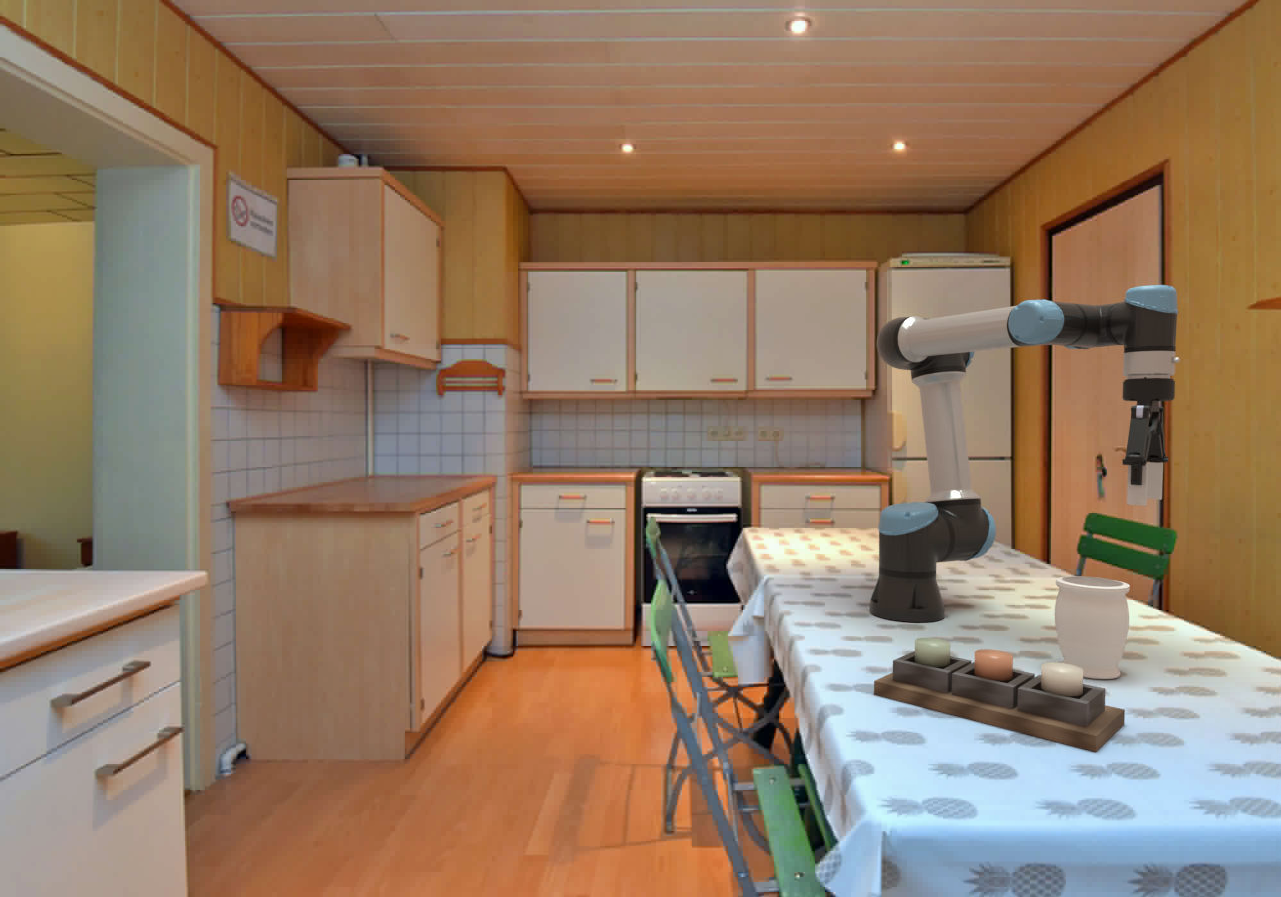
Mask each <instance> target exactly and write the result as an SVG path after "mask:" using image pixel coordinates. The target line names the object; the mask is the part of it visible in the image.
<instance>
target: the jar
mask: <svg viewBox="0 0 1281 897" xmlns="http://www.w3.org/2000/svg"><path fill="white" fill-rule="evenodd" d="M1055 585H1056V586H1057V587H1058V592H1057V596H1056V600H1055V605H1054V624H1055V630H1056V634H1057V636H1056V637H1057V643H1058V648H1059V650H1060V653H1061V655H1062V657H1063V658H1064V659H1063V661H1061V663H1065V664H1070V665H1074V666H1077V667H1080V668H1081V669H1083V678H1085V679H1092V680H1093V679H1094V680H1113V679H1117V678H1119V677H1120V676H1121V671H1120V669H1119V668H1118V664H1120V662H1121V660H1122V658H1123V656H1124V653H1125V648H1126V641H1127V638H1128V636H1129V635H1128V634H1129V628H1130V611H1129V610H1130V609H1129V604H1128V599H1127V597H1126V594H1128V593H1129V592H1130V589H1131V588H1130V587H1131V586H1130V584H1129V583H1127V582H1124V581H1121V580H1115V579H1110V578H1104V577H1095V576H1084V575H1083V576H1080V575H1078V576H1076V575H1075V576H1073V575H1071V576H1070V575H1069V576H1061V577H1056V578H1055Z"/></svg>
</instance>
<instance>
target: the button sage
mask: <svg viewBox="0 0 1281 897" xmlns="http://www.w3.org/2000/svg"><path fill="white" fill-rule="evenodd" d="M914 651H915V662H917V663H919V664H922V665H927V666H932V667H944V666H948V665H950V656H951V642H950V641H948V640H945V639H942V638H936V637H919V638H915V640H914Z"/></svg>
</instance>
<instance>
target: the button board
mask: <svg viewBox="0 0 1281 897" xmlns="http://www.w3.org/2000/svg"><path fill="white" fill-rule="evenodd" d="M974 665H975V661H974V662H972V660H971V659H967V658H966V659H965V658H960V657H957V656H951V655H950V665H948V666H944V667H932V666H927V665H922V664H919V663H917V662H915V650H913V651H911V652H909V653H905V655H904V654H903V655H902V656H900V657H898V658H895V659H893V660H892V672H891V673H890V672H889V674H886V675H884V676H882V677H880V678H877V679H876V680H874V682H873V695H876V696H879V697H883V698H887V699H892V700H895V701H899V702H903V703H906V704H911V705H915V706H918V707H922V708H925V709H929V710H932V711H933V710H934V711H937V712H941V713H944V714H949V715H953V716H957V717H959V718H964V719H968V720H971V721H976V722H978V723H979V722H980V723H983V724H986V725H990V726H994V727H999V728H1002V729H1005V730H1009V731H1013V732H1014V731H1015V732H1018V733H1021V734H1026V735H1030V736H1032V737H1037V738H1041V739H1044V740H1048V741H1053V742H1055V743H1060V744H1064V745H1066V746H1072V747H1075V748H1079V749H1083V750H1087V751H1091V752H1094V753H1098V751H1099V750H1100V749H1101V748H1102V747H1103V746H1104V745H1105V744H1107V742H1108V741H1109V740H1110V739H1111V738H1112V737H1113V736H1114V735H1115V734H1116V733H1117V732H1118V731H1119V730H1120V729H1122V728H1123V726H1124V725H1125V720H1126V719H1125V717H1126V715H1125V713H1126V712H1125V711H1126V710H1125V709H1124V708H1119V707H1115V706H1111V705H1106V688H1105V687H1101V686H1100V687H1099V686H1096V685H1090V684H1085V683H1083V694H1082V695H1080V696H1062V695H1057V694H1053V693H1049V692H1046V691H1044V690H1043V689H1041V674H1038V675H1037V676H1036V673H1034V672H1029V671H1024V670H1018V669H1014V668H1013V678H1012V679H1011V680H1006V681H996V680H990V679H985V678H981V677H978V676H976V675H975V674H974Z"/></svg>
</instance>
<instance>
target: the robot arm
mask: <svg viewBox="0 0 1281 897" xmlns="http://www.w3.org/2000/svg"><path fill="white" fill-rule="evenodd" d="M1124 296H1125V297H1124V301H1120V302H1115V303H1109V304H1108V303H1107V304H1106V303H1105V304H1099V305H1098V304H1097V305H1096V304H1086V303H1085V304H1084V303H1083V304H1082V303H1075V302H1074V303H1071V302H1063V301H1062V302H1061V301H1053V300H1047V299H1028V300H1024V301H1021V302H1020V303H1018V304H1017V305H1013V306H1007V307H998V308H994V309H987V310H981V311H980V310H979V311H974V312H973V311H972V312H966V313H961V314H960V313H959V314H954V315H953V314H952V315H948V316H947V315H946V316H941V317H934V318H925V317H924V318H923V317H921V316H916V315H915V316H901V317H896V318H893V319H891V320H890V321H888V322H886V323H885V324H884V325H883V326H882V327H881V328H880V331H879V332H878V335H877V337H876V338H877V339H876V349H877V354H878V355H879V357H880V358H881V360H882V361H883V362H884V363H885V364H887V365H888V366H890V367H891V368H894V369H897V370H902V371H903V370H904V371H905V370H906V371H910V377H911V378H910V379H911V383H913V385H915V386H916V387H918V389H919V395H920V396H919V398H920V405H921V406H920V407H921V414H922V423H923V431H924V432H923V433H924V442H925V452H926V461H927V471H928V478H929V489H930V494H929V495H928V496H927V497H926V499H925V500H924V502H922V501H921V502H917V501H916V502H915V501H913V502H902V503H901V502H900V503H895V504H892V505H888V506H886V507H884V508H883V509H882V510H881V512H880V514H879V525H878V578H877V580H876V582H875V586H874V589H873V592H872V594H871V597H870V601H869V612H870V613H871V614H872V615H874V616H876V617H878V618H882V619H887V620H893V621H899V622H911V623H913V622H915V623H923V622H924V623H926V622H928V623H929V622H935V621H936V622H937V621H940V620H943V619H944V618H945V612H946V611H945V610H946V609H945V604H944V600H943V597H942V594H941V590H940V588H939V584H938V581H937V563H949V562H958V561H959V562H961V561H962V562H967V561H971V560H973V559H974V560H975V559H978V558H981V557H983V556H984V555H986V554H987V553H988V551H989V550H990V549H991V548H992V547H993V544H994V543H995V539H996V534H997V529H996V528H997V526H996V522H995V519H994V517H993V515H992V514H990V511H989V510H988V509H986V508H985V507H982V499H981V496H980V495H978V494H977V493H976V492H975V491H974V490H973V487H972V479H971V478H972V477H971V470H970V462H969V461H970V460H969V459H970V458H969V451H968V443H967V442H968V441H967V434H966V427H965V426H966V425H965V416H964V407H963V399H962V391H961V382H962V381H963V380H964V378H966V376H967V368H968V367H969V366H970V365H971V363H972V362H973V361H972V359H973V358H974V357H975V352H980V351H990V350H991V351H993V350H999V349H1011V348H1021V347H1022V348H1023V347H1024V348H1025V347H1036V346H1064V347H1065V348H1066V349H1069V350H1090V349H1092V348H1095V349H1096V348H1103V347H1112V346H1123V358H1122V359H1123V360H1122V363H1123V365H1122V375H1123V377H1126V379H1124V381H1122V400H1123V401H1124V402H1136V405H1131V407H1130V423H1129V429H1128V430H1129V431H1128V435H1127V444H1126V453H1125V456H1124V458H1123V459H1122V466H1127V484H1126V486H1127V487H1126V488H1127V490H1126V492H1127V493H1126V505H1129V506H1131V505H1132V506H1147V505H1148V504H1147V502H1148V500H1160V501H1161V500H1162V499H1163V479H1164V478H1163V474H1164V463H1169V456H1167V454H1166V446H1165V442H1166V441H1165V430H1164V428H1165V427H1164V411H1165V409H1164V406H1160V404H1159V402H1167V401H1168V402H1171V401H1173V400H1174V399H1175V393H1176V380H1174V378H1171V376H1174V375H1175V374H1176V365H1175V364H1178V363H1180V362H1181V360H1180V357H1178V356H1176V349H1177V348H1176V341H1177V322H1178V315H1179V310H1178V293H1177V289H1176V288H1175V287H1173V286H1171V285H1165V284H1156V285H1154V284H1150V285H1139V286H1135V287H1132V288H1128V290H1126V292H1125V295H1124Z"/></svg>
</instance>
